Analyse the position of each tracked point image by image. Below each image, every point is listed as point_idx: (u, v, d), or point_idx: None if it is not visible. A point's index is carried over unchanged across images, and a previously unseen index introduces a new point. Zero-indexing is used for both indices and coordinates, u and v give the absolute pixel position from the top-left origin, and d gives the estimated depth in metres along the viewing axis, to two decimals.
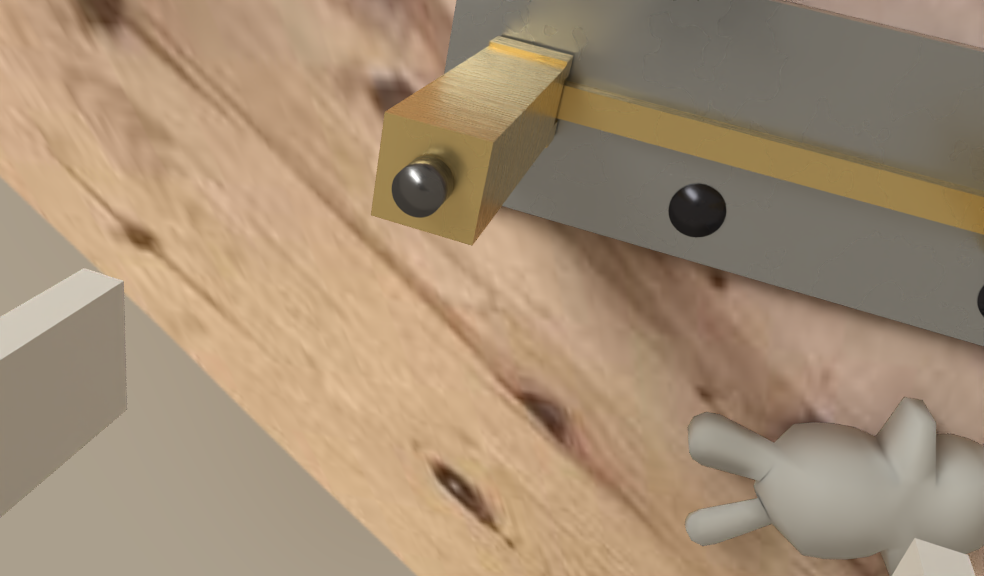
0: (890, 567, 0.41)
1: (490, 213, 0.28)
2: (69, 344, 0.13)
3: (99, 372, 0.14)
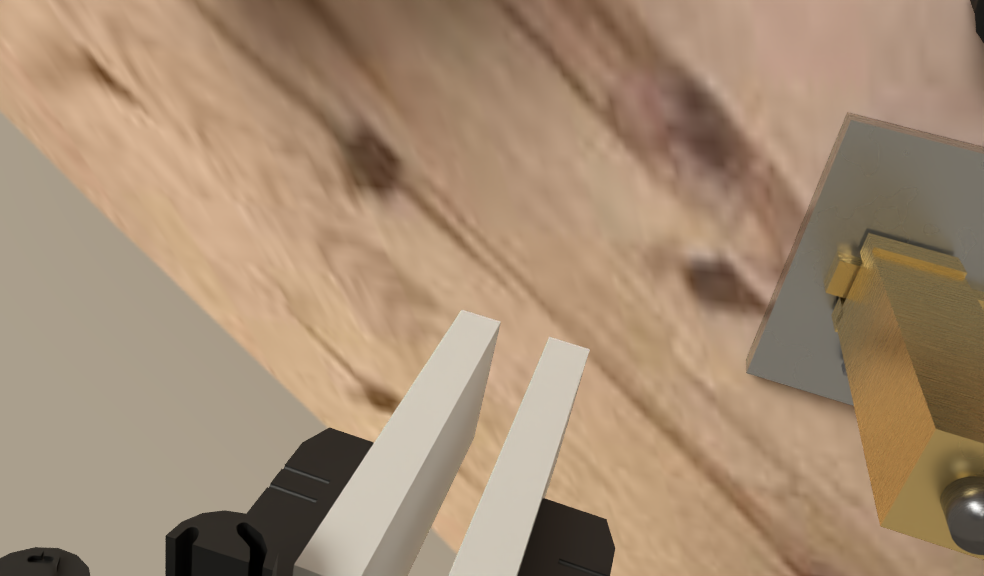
0: None
1: None
2: (475, 383, 0.14)
3: (476, 405, 0.15)
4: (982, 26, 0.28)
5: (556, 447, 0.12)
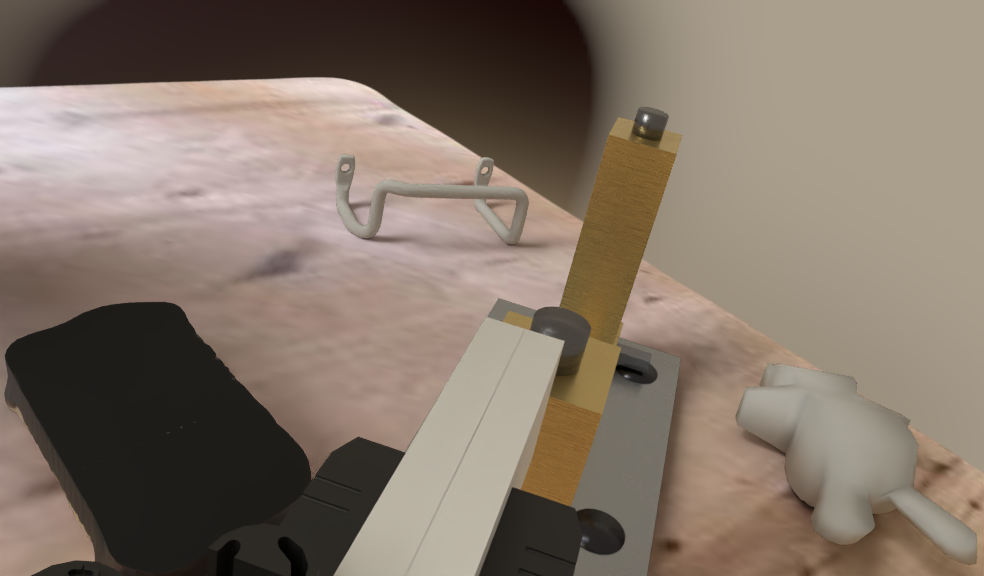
0: (895, 415, 0.46)
1: None
2: None
3: None
4: (166, 567, 0.29)
5: (526, 436, 0.12)
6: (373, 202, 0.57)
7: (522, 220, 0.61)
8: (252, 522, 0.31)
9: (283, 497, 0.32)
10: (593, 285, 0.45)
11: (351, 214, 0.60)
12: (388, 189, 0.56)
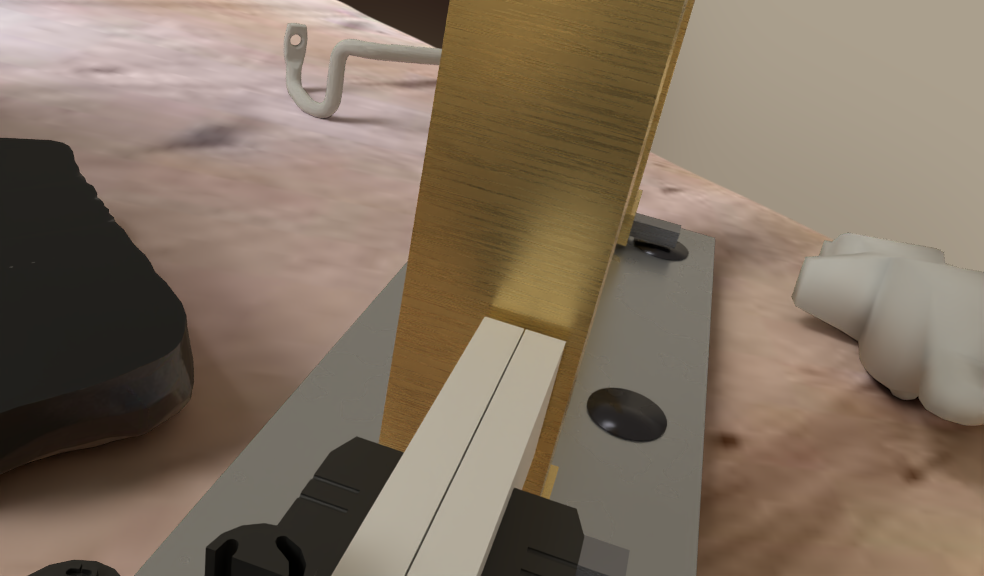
0: None
1: None
2: None
3: None
4: None
5: (527, 437, 0.12)
6: (331, 69, 0.47)
7: None
8: (69, 386, 0.20)
9: (131, 358, 0.21)
10: None
11: (305, 93, 0.50)
12: (349, 50, 0.46)
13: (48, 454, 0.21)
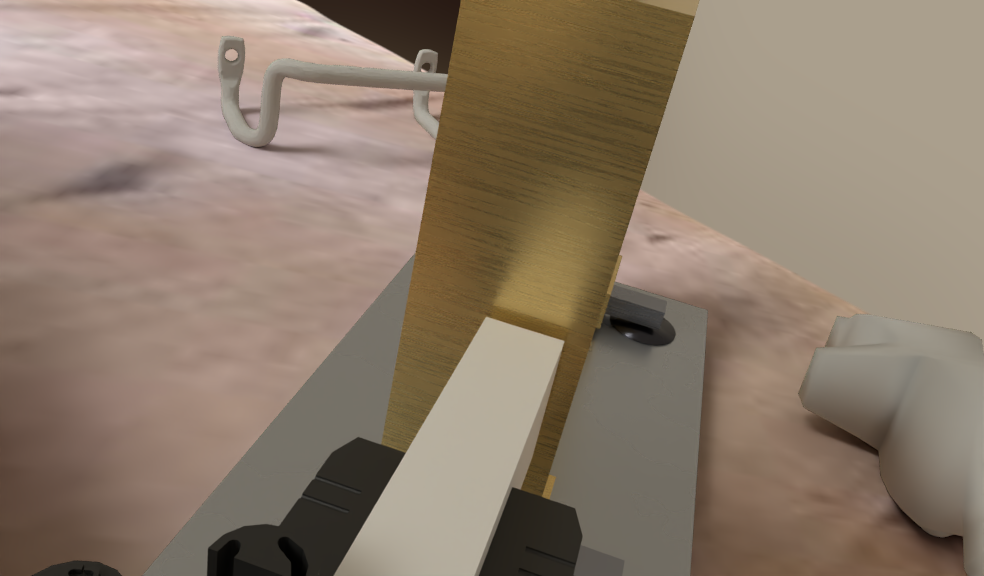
0: None
1: None
2: None
3: None
4: None
5: (526, 436, 0.12)
6: (264, 92, 0.41)
7: None
8: None
9: None
10: None
11: (239, 117, 0.44)
12: (283, 71, 0.40)
13: None
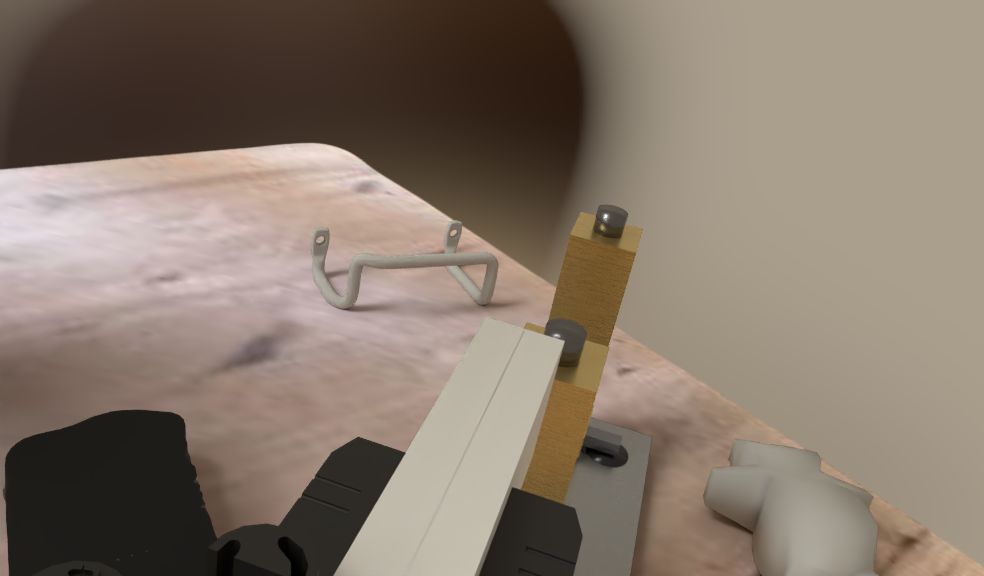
0: (858, 492, 0.47)
1: None
2: None
3: None
4: None
5: (526, 437, 0.12)
6: (350, 275, 0.59)
7: (493, 282, 0.64)
8: None
9: None
10: None
11: (328, 285, 0.62)
12: (364, 262, 0.59)
13: None
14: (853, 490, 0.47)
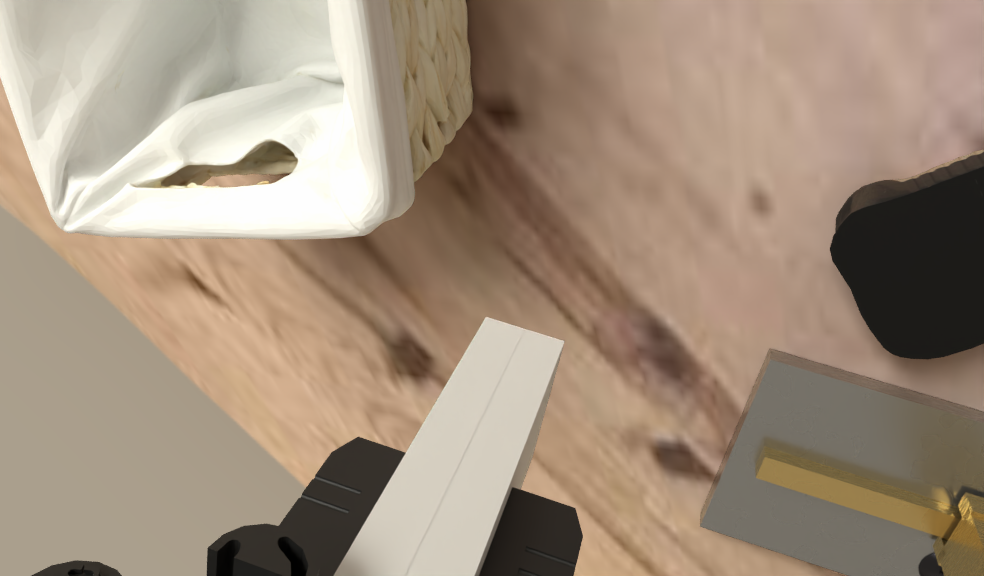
0: None
1: None
2: None
3: None
4: (835, 247, 0.38)
5: (526, 436, 0.12)
6: None
7: None
8: (864, 308, 0.39)
9: (885, 334, 0.39)
10: None
11: None
12: None
13: None
14: None
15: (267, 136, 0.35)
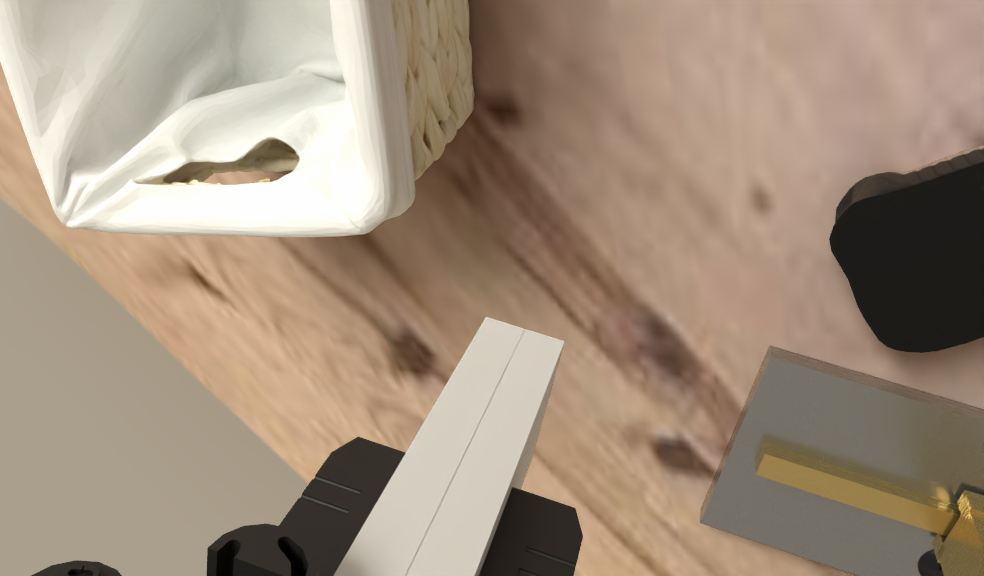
0: None
1: None
2: None
3: None
4: (834, 237, 0.38)
5: (526, 436, 0.12)
6: None
7: None
8: (861, 300, 0.39)
9: (881, 326, 0.39)
10: None
11: None
12: None
13: None
14: None
15: (269, 134, 0.36)
